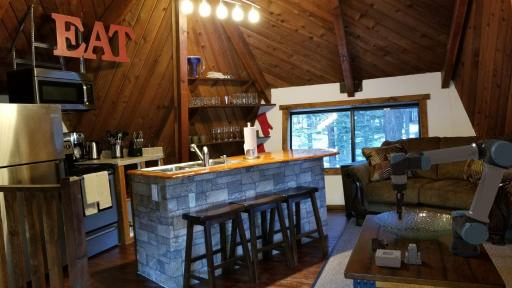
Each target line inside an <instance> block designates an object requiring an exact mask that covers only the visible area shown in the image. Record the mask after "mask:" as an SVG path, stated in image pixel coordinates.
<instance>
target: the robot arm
mask: <svg viewBox="0 0 512 288" xmlns="http://www.w3.org/2000/svg"><path fill="white" fill-rule="evenodd" d="M468 160H475V161H483V162H482V164H483V167H484V169H483V171H482V175H481V178H480V180H479V183H478V185H477V189H476V191H475V194H474V197H473V199H472V203H471V205H470V208H469V210H454V211H452V212H451V216H450V218H451V236H452V237H451V241H450V243H449V247H448V250H449V252H451V253H452V254H453V255H454V256H459V257H465V258H473V257H478V256H479V255H481V249H480V246H479V245H481V244H483V243H485V242H486V241H487V240H488V238H489V234H490V233H489V229H488V227H489V225H490V219H489V214H490V211H491V210H492V206H493V203H494V201H495V197H496V196H497V193H498V190H499V187H500V184H501V181H502V178H503V177H504V174H505V173H506V172H509V170H510V168H511V165H512V143H511V142H510V141H506V140H500V139H496V138H495V139H485V140H481V141H478V142H477V141H476V142H472V143H471V144H469V145H462V146H461V145H460V146H455V147H449V148H439V149H434V150H427V151H426V150H425V151H418V152H408V153H407V154H405V153H404V152H394V153H391V154H390V172H391V173H390V174H391V175H390V177H389V178H390V179H391V189H392V191H393V192H394V191H395V192H396V193H395V199H396V200H395V201H396V211H395V215H396V216H397V217H396V219H397V226H398V227H400V226H401V227H403V226H404V219H406V211H405V210H406V209H405V208H406V206H407V204H406V202H405V193H404V192H405V191H407V190H408V183H407V181H408V180H407V179H408V178H407V177H408V176H407V172H411V171H428V170H430V169H431V168H432V167H431V166H432V165H436V164H438V165H439V164H445V163H451V162H460V161H468Z"/></svg>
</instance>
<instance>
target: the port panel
mask: <svg viewBox="0 0 512 288" xmlns="http://www.w3.org/2000/svg"><path fill="white" fill-rule="evenodd" d="M374 258H375V266H379V267H393V268H401V264H402V253H401V250H393V249H391V250H390V249H389V250H379V249H377V250H376V251H375V257H374Z"/></svg>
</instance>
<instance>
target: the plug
mask: <svg viewBox="0 0 512 288" xmlns="http://www.w3.org/2000/svg"><path fill="white" fill-rule="evenodd" d="M407 249H408V251H407V252H408V259H409V262H411V263H417V260H418V248H417V245H416V243H415V244H414V243H409V244H408V248H407Z"/></svg>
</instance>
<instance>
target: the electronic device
mask: <svg viewBox="0 0 512 288" xmlns="http://www.w3.org/2000/svg"><path fill="white" fill-rule="evenodd" d="M388 247H389V243H388V242H385V241H384V238H382V237H372V238H371V251H374V252H377V249H379V250H390V249H389V248H388Z"/></svg>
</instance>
